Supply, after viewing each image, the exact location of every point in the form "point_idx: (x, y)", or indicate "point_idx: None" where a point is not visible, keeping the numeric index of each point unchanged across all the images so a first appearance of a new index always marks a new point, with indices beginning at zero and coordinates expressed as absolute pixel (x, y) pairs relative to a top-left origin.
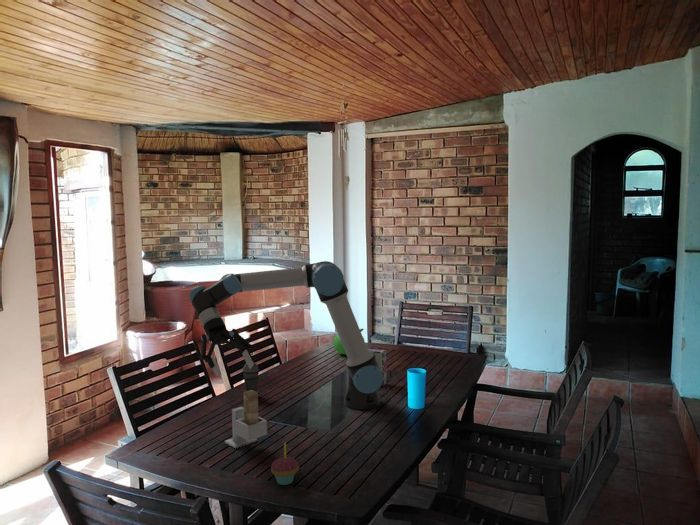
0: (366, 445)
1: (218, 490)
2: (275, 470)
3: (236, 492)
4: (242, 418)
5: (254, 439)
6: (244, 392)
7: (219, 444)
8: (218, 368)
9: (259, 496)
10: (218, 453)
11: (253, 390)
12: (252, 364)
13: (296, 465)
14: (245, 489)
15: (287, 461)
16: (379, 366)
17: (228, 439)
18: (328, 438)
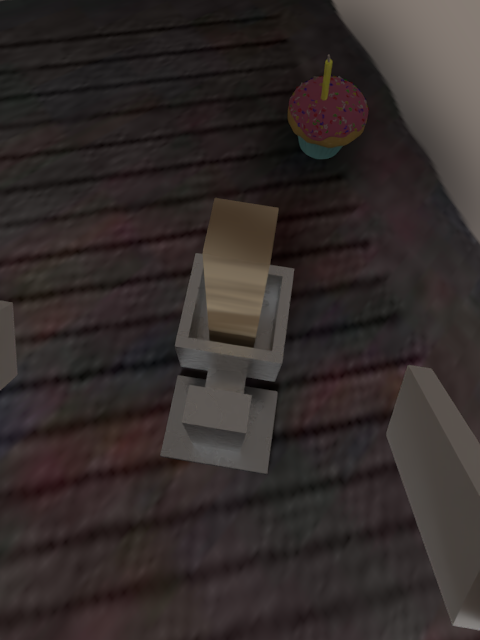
0: (18, 97)
1: (472, 236)
2: (367, 107)
3: (441, 195)
4: (246, 355)
5: (185, 381)
6: (269, 256)
7: (288, 481)
8: (431, 391)
9: (410, 145)
10: (339, 418)
11: (206, 238)
12: (7, 303)
13: (316, 77)
14: (416, 188)
15: (334, 82)
16: None
17: (248, 470)
18: (26, 199)
